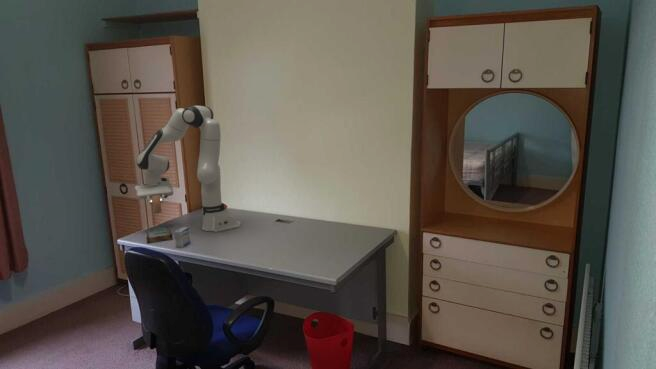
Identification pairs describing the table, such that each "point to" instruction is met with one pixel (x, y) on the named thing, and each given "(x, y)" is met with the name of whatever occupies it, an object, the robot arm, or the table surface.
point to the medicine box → (182, 237)
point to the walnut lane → (159, 237)
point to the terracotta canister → (156, 204)
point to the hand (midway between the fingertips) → (156, 202)
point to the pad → (160, 230)
